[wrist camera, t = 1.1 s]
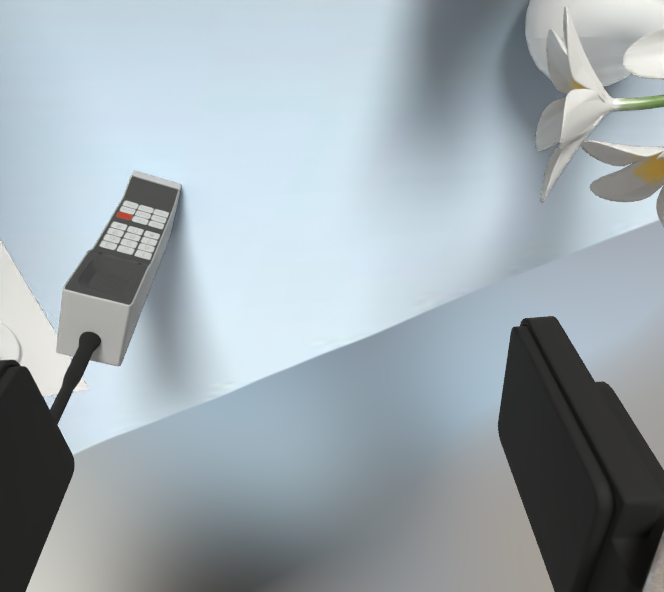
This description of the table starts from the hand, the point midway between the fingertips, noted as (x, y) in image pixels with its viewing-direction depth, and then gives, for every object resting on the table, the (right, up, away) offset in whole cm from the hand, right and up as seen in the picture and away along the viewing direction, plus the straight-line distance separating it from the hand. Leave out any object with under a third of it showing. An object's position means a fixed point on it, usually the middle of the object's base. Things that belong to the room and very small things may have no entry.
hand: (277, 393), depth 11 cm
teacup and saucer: (-35, -1, +41) cm, 54 cm away
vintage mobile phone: (-13, +10, +35) cm, 39 cm away
